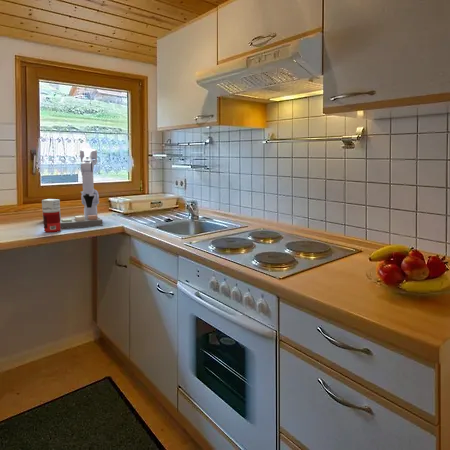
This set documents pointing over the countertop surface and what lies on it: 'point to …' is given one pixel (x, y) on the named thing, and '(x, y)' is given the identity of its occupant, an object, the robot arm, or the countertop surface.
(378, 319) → the countertop surface
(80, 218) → the cream button
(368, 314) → the countertop surface
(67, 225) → the console
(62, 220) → the sage button
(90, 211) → the robot arm
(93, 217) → the terracotta button
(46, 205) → the white canister
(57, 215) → the canned food
